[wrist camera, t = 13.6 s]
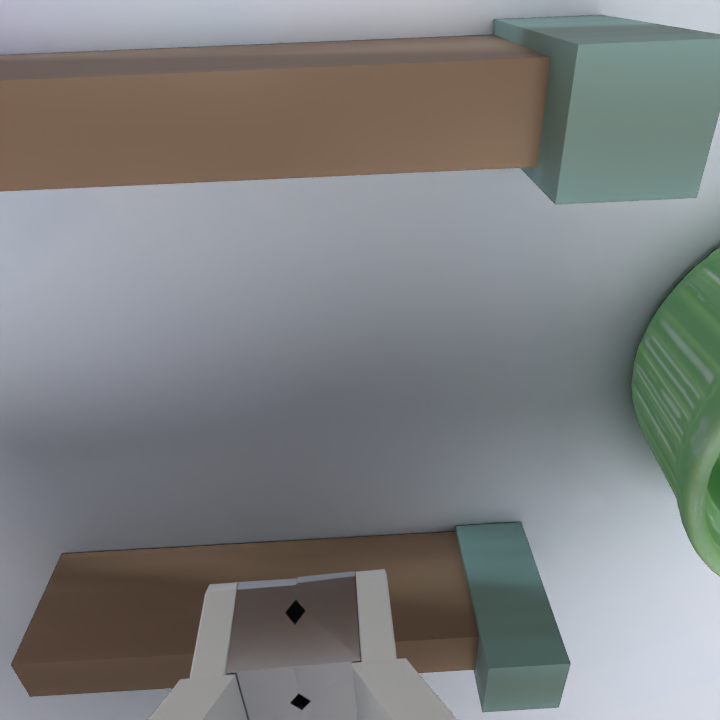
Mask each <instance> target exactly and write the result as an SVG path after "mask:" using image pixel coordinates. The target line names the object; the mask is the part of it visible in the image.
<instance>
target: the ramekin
mask: <svg viewBox="0 0 720 720" xmlns="http://www.w3.org/2000/svg"><path fill="white" fill-rule="evenodd" d="M632 401H633V406H634V409H635V413H636V418H637V420H638V423H639V425H640V427H641V429H642V431H643V433H644V435H645V437H646V439H647V441H648V444H649V446H650V448H651V450H652V452H653V454H654V456H655V457H656V459H657V461H658V463H659V465H660V467H661V469H662V471H663V473H664V475H665V477H666V479H667V480H668V482H669V484H670V486H671V488H672V490H673V492H674V494H675V496H676V498H677V503H678V508H679V512H680V516H681V520H682V523H683V526H684V528H685V531H686V533H687V535H688V538H689V540H690V542H691V544H692V546H693V547H694V549H695V551H696V553H697V554H698V555H699V556H700V558H701V559H702V560H703V561H704V563H705V564H706V565H707V566H708V567H709V568H710V569H711V570H712V571H713V572H715V573H716V574H717V575H719V576H720V248H718V249H716V250H714V251H713V252H712V253H711V254H710V255H709V256H708V257H707V258H705V259H704V260H703V261H702V262H700V263H699V264H698V265H697V266H696V267H694V268H693V269H692V270H691V271H690V272H689V273H688V274H687V275H686V276H685V277H684V278H683V279H682V280H681V282H680V283H679V284H678V285H677V286H676V287H675V288H674V290H673V291H672V292H671V293H670V294H669V296H668V297H667V298H666V299H665V301H664V302H663V303H662V304H661V306H660V307H659V309H658V310H657V312H656V313H655V315H654V316H653V318H652V320H651V321H650V323H649V325H648V327H647V329H646V331H645V333H644V335H643V338H642V340H641V342H640V344H639V346H638V349H637V354H636V358H635V360H634V366H633V375H632Z"/></svg>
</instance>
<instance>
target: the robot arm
mask: <svg viewBox="0 0 720 720" xmlns="http://www.w3.org/2000/svg"><path fill="white" fill-rule="evenodd" d="M356 587H357V588H356ZM148 720H457V719H456V718H455V716H454V715H453V714H452V713H451V712H450V710H449V709H448V708H447V707H446V706H445V705H444V703H443V702H442V701H441V700H440V699H439V697H438V696H437V695H436V694H435V693H434V691H433V690H432V689H431V688H430V687H429V685H428V684H427V683H426V682H425V681H424V679H423V678H422V677H421V676H420V675H419V673H418V672H417V671H416V670H415V669H414V667H413V666H412V665H411V664H410V663H409V661H408V660H407V659H406V658H402V659H397V655H396V647H395V639H394V631H393V623H392V615H391V607H390V598H389V590H388V582H387V574H386V572H385V569H380V570H369V571H359V572H356V578H355V571H352V572H342V573H332V574H323V575H313V576H304V577H298V578H295V579H280V580H264V581H248V582H234V583H222V584H210V585H209V587H208V589H207V591H206V593H205V597H204V602H203V608H202V613H201V619H200V624H199V630H198V635H197V640H196V646H195V651H194V657H193V662H192V667H191V673H190V678H187V679H180V680H179V682H178V683H177V684H176V685H175V687H174V688H173V689H172V690H171V691H170V693H169V694H168V695H167V696H166V698H165V699H164V700H163V701H162V703H161V704H160V705H159V706H158V707H157V709H156V710H155V711H154V712H153V714H152V715H151V716H150V717H149V719H148Z"/></svg>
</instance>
